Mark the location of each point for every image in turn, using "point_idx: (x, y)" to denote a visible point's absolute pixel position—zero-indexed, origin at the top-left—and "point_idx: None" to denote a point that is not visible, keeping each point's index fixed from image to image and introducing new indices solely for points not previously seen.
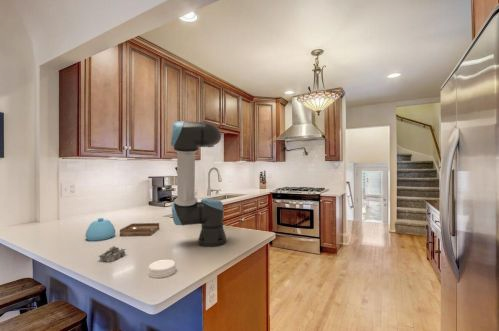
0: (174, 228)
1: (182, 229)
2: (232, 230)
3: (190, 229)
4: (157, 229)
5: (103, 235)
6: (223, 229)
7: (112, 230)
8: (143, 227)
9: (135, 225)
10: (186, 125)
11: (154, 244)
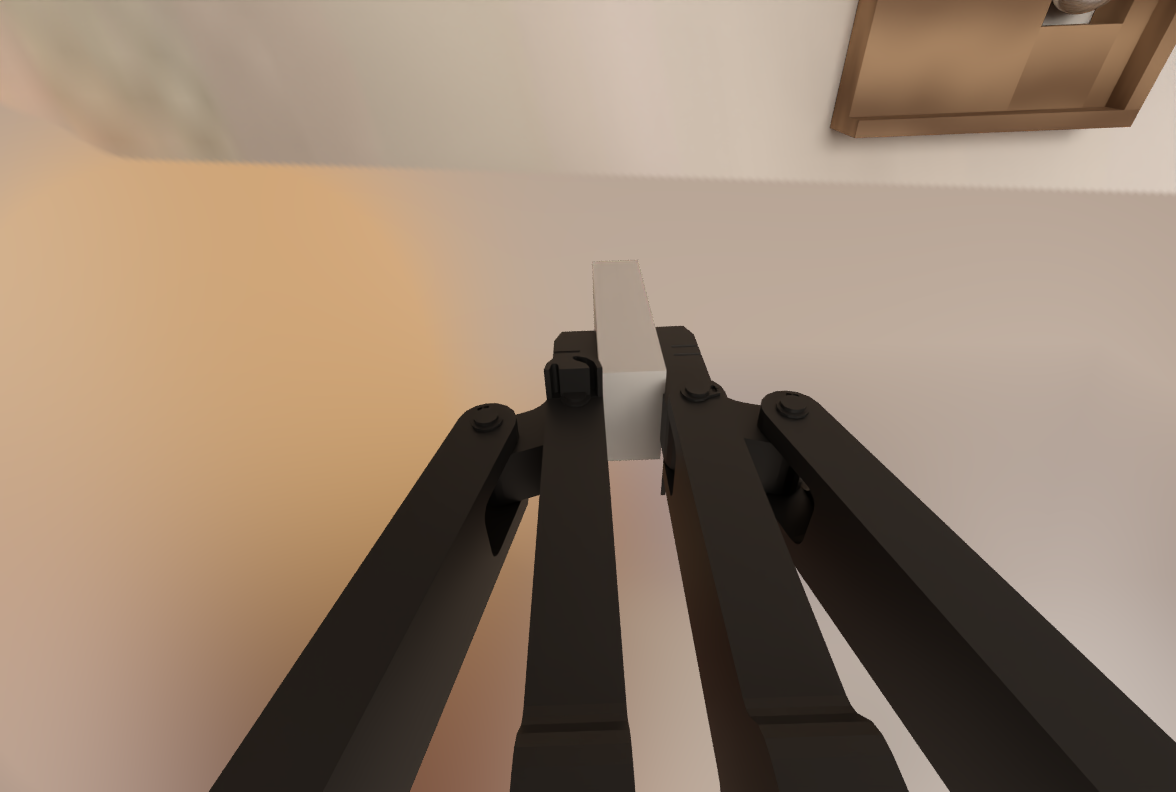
0: (693, 150)
1: (610, 106)
2: (99, 43)
3: (534, 104)
4: (846, 71)
5: None
6: None
7: None
8: (1002, 34)
9: (1081, 108)
10: None
11: None
